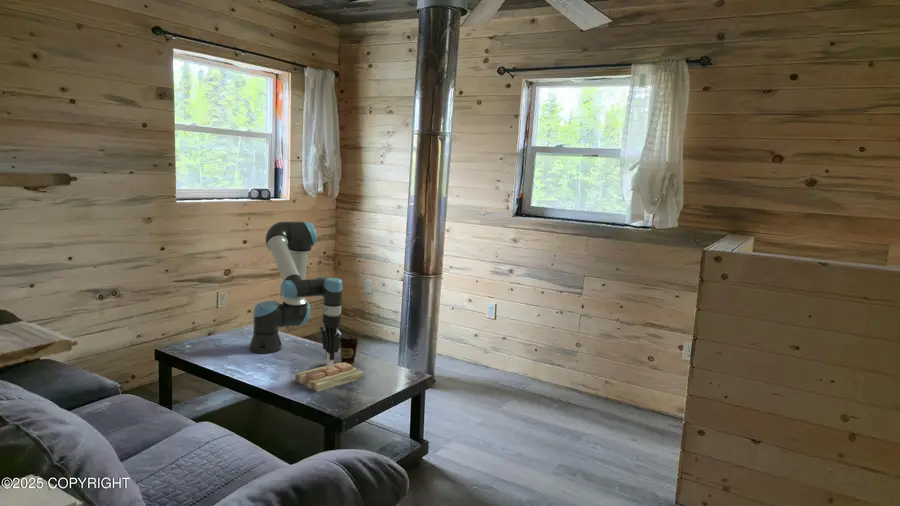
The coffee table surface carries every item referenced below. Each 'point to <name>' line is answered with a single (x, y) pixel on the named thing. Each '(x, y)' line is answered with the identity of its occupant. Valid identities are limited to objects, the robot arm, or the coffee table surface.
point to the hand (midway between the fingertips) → (329, 366)
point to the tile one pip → (315, 375)
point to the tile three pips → (344, 367)
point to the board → (329, 379)
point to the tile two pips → (330, 371)
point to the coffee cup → (348, 349)
